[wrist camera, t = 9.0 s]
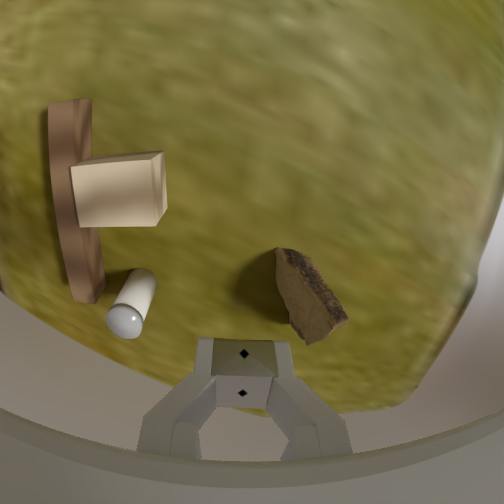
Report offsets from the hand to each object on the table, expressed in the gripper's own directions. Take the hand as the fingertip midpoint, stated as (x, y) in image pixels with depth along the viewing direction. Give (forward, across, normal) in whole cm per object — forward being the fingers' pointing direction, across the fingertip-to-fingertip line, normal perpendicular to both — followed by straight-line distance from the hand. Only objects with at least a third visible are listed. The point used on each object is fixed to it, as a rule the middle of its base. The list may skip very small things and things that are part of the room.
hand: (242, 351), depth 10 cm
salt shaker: (+22, +11, +13) cm, 27 cm away
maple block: (+22, +12, +1) cm, 25 cm away
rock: (+22, -7, +13) cm, 26 cm away
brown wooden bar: (+22, +17, +3) cm, 28 cm away
